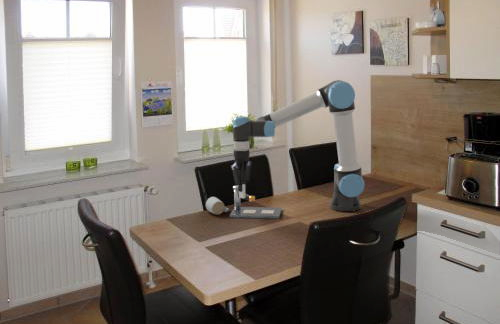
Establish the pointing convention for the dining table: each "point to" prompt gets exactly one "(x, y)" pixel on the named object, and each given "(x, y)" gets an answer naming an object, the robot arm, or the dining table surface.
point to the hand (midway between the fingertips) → (242, 197)
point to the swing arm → (249, 197)
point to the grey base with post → (252, 210)
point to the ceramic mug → (215, 206)
